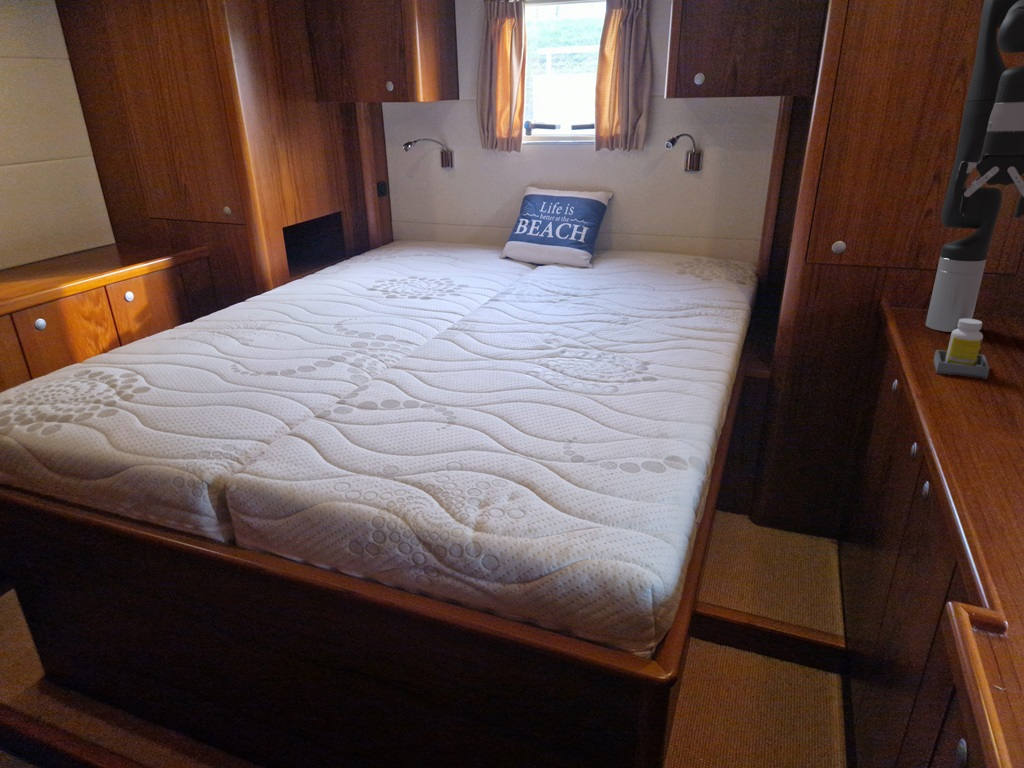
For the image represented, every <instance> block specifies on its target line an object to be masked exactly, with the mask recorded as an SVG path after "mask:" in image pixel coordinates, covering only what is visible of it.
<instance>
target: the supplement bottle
mask: <svg viewBox="0 0 1024 768" xmlns="http://www.w3.org/2000/svg"><path fill="white" fill-rule="evenodd" d="M982 326H983V322H982V320H979V319H975V318H972V319H966V318H964V319H959V321H958V329H955V330H953V331H952V332H950V333H951V334H950V337H949V342H948V347H947V350H946V351H947V354H946V358H945V362H946V363H955V364H964V365H972V366H976V363H977V359H978V355H979V354H980V352H981V351H980V350H981V347H982V342H983V338H984V335H983V333H982V332H981V330H982Z"/></svg>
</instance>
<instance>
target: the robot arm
mask: <svg viewBox="0 0 1024 768" xmlns="http://www.w3.org/2000/svg"><path fill="white" fill-rule="evenodd" d="M979 23H980V24H979V30H978V38H977V45H976V51H975V52H976V53H975V59H974V65H973V68H972V73H971V76H970V77H971V78H970V82H969V85H968V91H967V95H966V99H965V103H964V109H963V113H962V114H963V115H962V119H961V124H960V131H959V138H958V144H957V149H956V153H955V159H954V163H953V166H952V170H951V175H950V178H949V183H948V186H947V189H946V193H945V196H944V201H943V206H942V210H941V211H942V212H941V223H942V226H943V227H945V228H950V229H951V228H952V229H975V231H974V232H973V233H971V235H968V236H967V237H963V238H960V239H958V240H953V241H948V242H946V243H945V244H943V245H942V247H941V250H940V255H939V259H938V265H937V269H936V274H935V278H934V279H935V280H934V285H933V288H932V294H931V297H930V302H929V307H928V311H927V316H926V321H925V326H926V327H927V328H929V329H932V330H935V331H941V332H944V333H945V332H946V333H947V332H948V333H952V331H953V330H955V329H958V321H959V319H964V318H966V319H973V317H974V314H975V309H976V303H977V300H978V296H979V292H980V287H981V283H982V279H983V275H984V271H985V268H986V267H985V266H986V262H987V258H988V253H989V250H990V249H989V248H990V246H991V241H992V238H993V234H994V230H995V226H996V223H997V220H998V217H999V214H1000V211H1001V207H1002V200H1003V193H1002V191H1001V189H1000V188H999V187H989V186H997V185H1001V186H1010V185H1012V184H1013V185H1014V187H1015V188H1016V189H1017V191H1018V194H1020V196H1019V197H1018V199H1017V202H1016V207H1015V211H1014V215H1013V217H1014V218H1015V219H1021V218H1022V217H1021V216H1024V180H1023V178H1022V176H1023V175H1024V65H1020V66H1015V67H1012V68H1007V66H1006V64H1005V62H1004V60H1003V58H1002V55H1001V52H1000V51H1002V52H1004V53H1006V54H1007V53H1008V54H1018V53H1020V54H1021V53H1024V0H984V1H983V5H982V10H981V18H980V22H979ZM997 30H998V33H997ZM973 169H976V171H977V173H978V174H979V176H978V177H977V178H976V179H975V180H973V181H972V182H971V184H970V185H968V186H966V182H967V180H968V178H969V176H970V174H971V172H972V171H973ZM984 184H986V185H988V187H987V186H986V187H985V186H984V187H983V185H984Z"/></svg>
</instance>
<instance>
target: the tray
mask: <svg viewBox="0 0 1024 768" xmlns="http://www.w3.org/2000/svg"><path fill="white" fill-rule="evenodd" d="M946 354H947V350H942V349H935V352H934V356H933V357H934V358H933V364H934V368H935V374H939V375H945V374H948V375H947V376H953V375H961V376H968V377H967V378H969V377H976V378H975V379H978V378H983V379H982V380H986V379H987V380H988V377H989V372H990V369H991V368H990V366H989V363H988V361H987V358H986V356H985V354H980V353H979V355H978V359H977V363H976V366H972V365H964V364H955V363H946V362H945V358H946ZM961 376H960V377H961Z"/></svg>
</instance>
